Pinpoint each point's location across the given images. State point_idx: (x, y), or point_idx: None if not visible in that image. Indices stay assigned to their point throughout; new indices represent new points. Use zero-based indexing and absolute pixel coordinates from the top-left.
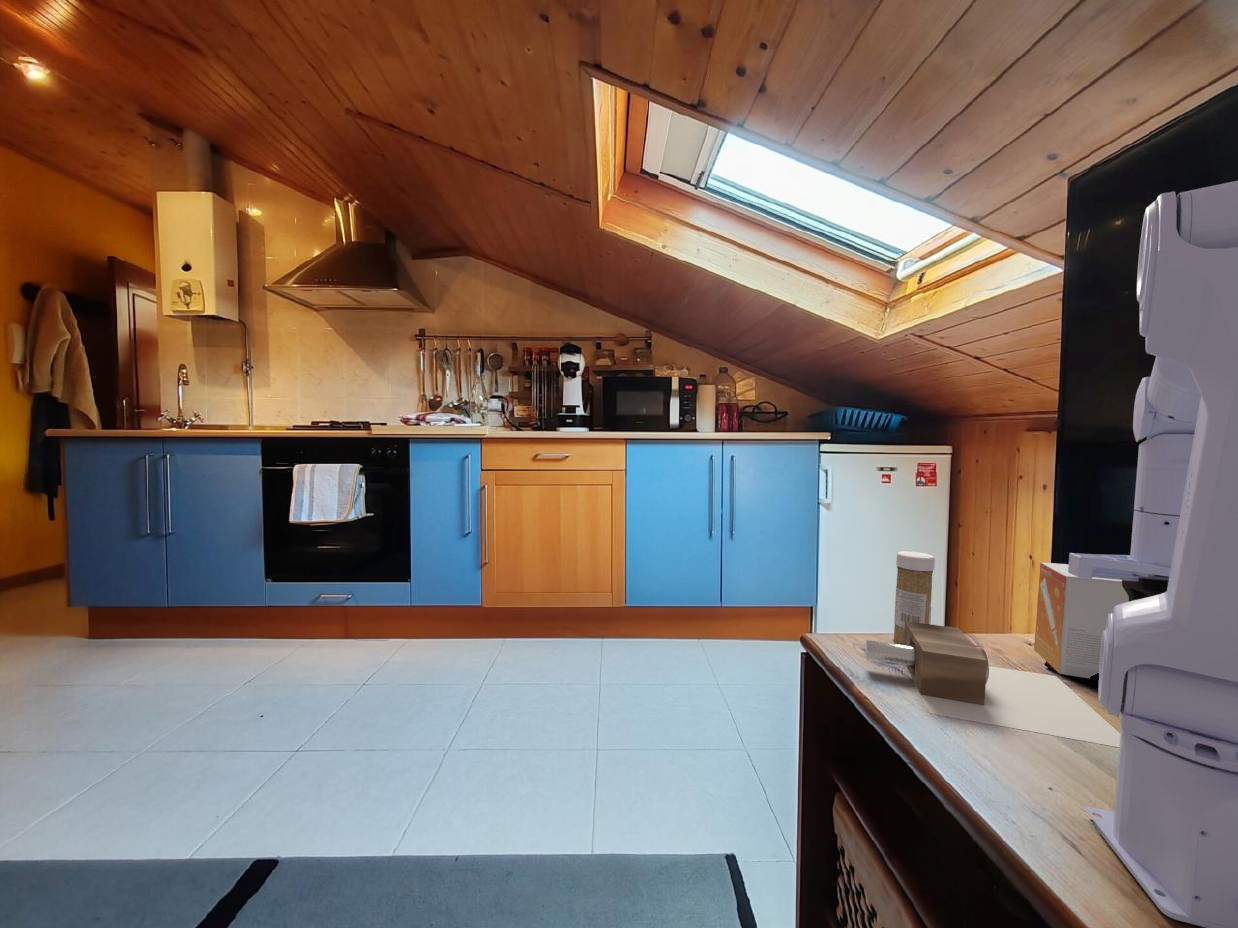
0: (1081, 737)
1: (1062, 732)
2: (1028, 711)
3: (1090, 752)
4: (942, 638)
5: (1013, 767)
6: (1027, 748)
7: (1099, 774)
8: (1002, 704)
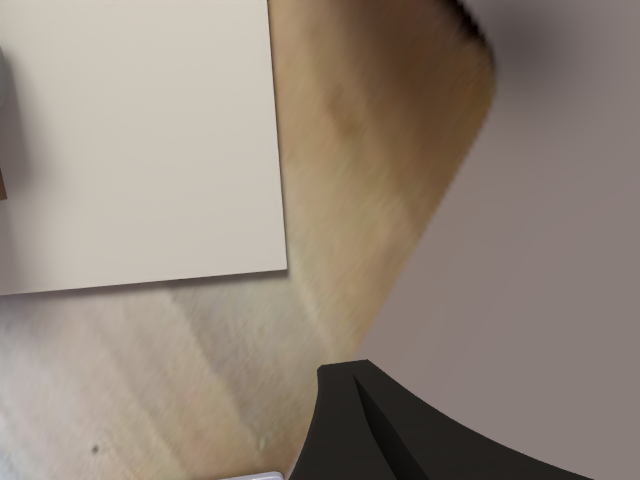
0: (194, 264)
1: (162, 258)
2: (112, 180)
3: (203, 289)
4: None
5: (46, 416)
6: (85, 333)
7: (190, 364)
8: (55, 167)
